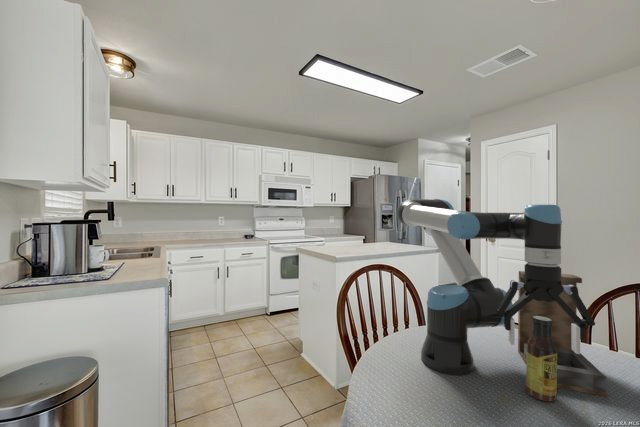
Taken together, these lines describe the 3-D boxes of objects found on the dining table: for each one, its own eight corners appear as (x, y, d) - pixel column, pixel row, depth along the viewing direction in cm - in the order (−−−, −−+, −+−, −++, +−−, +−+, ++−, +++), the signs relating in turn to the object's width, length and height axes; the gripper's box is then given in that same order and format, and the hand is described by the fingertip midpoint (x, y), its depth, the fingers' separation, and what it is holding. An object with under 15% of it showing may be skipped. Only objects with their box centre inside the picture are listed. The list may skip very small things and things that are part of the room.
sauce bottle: (548, 406, 70) (549, 324, 70) (520, 392, 76) (521, 316, 76) (561, 398, 73) (562, 320, 73) (534, 385, 79) (534, 312, 79)
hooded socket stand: (537, 383, 80) (538, 283, 80) (517, 351, 98) (518, 271, 98) (608, 396, 74) (609, 289, 74) (573, 360, 93) (573, 274, 93)
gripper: (489, 263, 75) (489, 344, 75) (613, 270, 66) (614, 363, 66) (484, 259, 82) (484, 334, 82) (596, 265, 73) (597, 349, 73)
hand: (542, 347), depth 74 cm, fingers open, 13 cm apart
